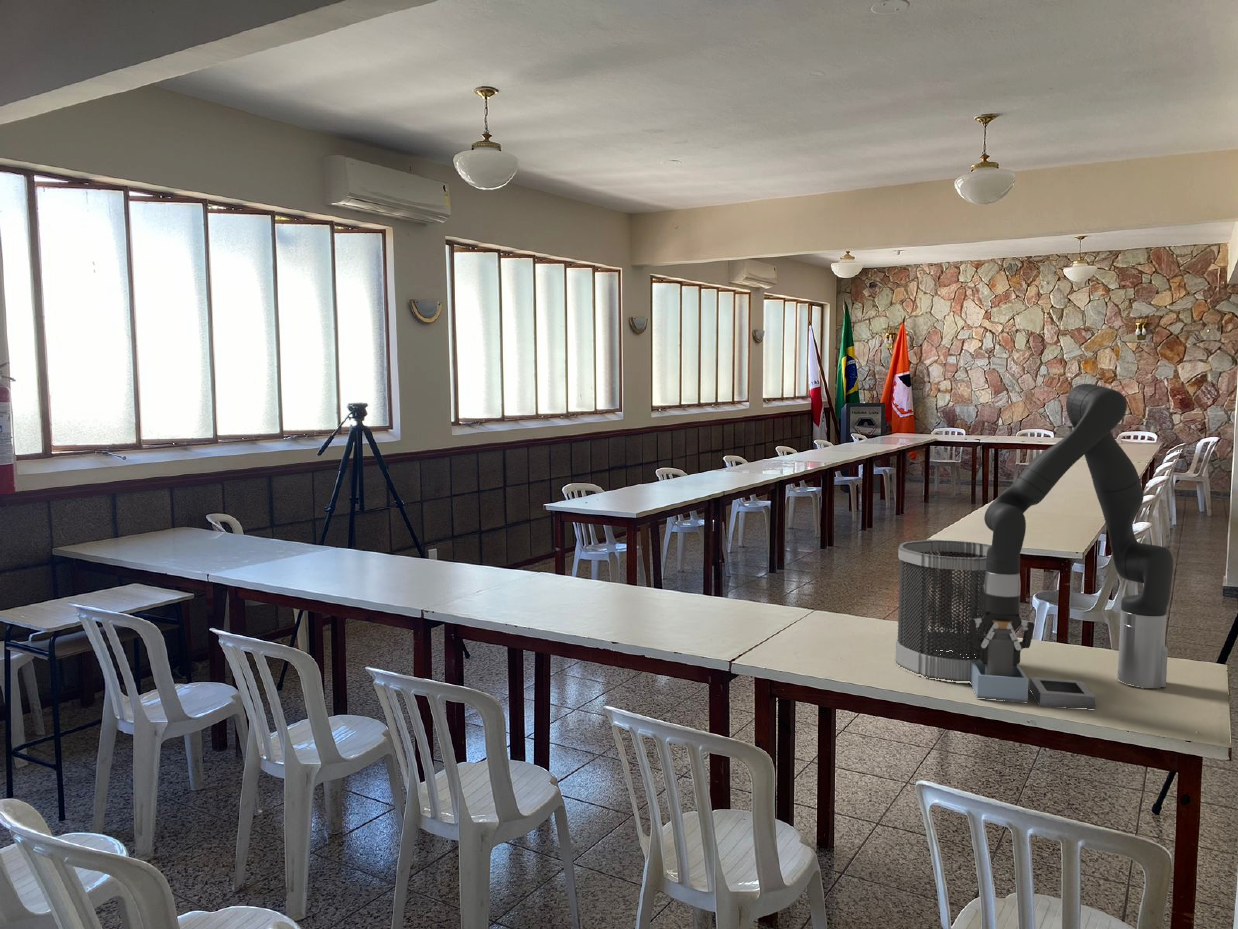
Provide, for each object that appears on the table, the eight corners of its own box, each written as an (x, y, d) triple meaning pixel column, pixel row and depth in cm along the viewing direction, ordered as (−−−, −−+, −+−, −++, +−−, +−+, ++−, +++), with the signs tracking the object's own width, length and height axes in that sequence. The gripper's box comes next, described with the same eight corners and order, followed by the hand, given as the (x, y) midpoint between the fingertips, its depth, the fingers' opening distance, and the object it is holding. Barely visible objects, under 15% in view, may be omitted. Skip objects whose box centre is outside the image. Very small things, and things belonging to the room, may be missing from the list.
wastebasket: (954, 648, 237) (957, 538, 235) (1028, 676, 214) (1033, 554, 211) (876, 658, 228) (879, 543, 226) (945, 688, 205) (949, 561, 202)
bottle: (1017, 685, 200) (1020, 620, 199) (1002, 689, 197) (1005, 623, 196) (994, 678, 205) (997, 615, 204) (979, 682, 202) (981, 618, 201)
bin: (1017, 688, 205) (1018, 665, 205) (1027, 703, 195) (1028, 679, 194) (970, 684, 207) (971, 661, 207) (977, 699, 197) (978, 675, 197)
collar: (1081, 693, 201) (1081, 681, 201) (1094, 710, 191) (1095, 697, 190) (1029, 689, 204) (1029, 677, 204) (1039, 706, 193) (1040, 692, 193)
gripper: (970, 593, 197) (968, 667, 199) (1040, 596, 194) (1037, 671, 195) (965, 586, 205) (963, 657, 206) (1032, 589, 201) (1030, 661, 203)
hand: (999, 663), depth 201 cm, fingers closed on bottle, 5 cm apart
